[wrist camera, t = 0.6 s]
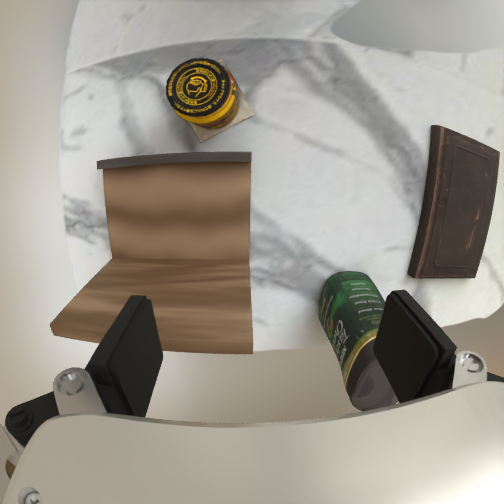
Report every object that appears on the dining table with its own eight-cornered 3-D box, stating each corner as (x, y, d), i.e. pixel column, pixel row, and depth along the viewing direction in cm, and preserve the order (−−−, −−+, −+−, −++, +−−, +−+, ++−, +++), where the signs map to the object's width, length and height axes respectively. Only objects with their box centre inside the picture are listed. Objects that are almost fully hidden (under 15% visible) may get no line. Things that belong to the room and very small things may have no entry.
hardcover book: (491, 150, 32) (500, 152, 29) (467, 272, 40) (474, 278, 38) (428, 124, 31) (438, 124, 29) (405, 272, 39) (412, 278, 37)
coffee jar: (323, 267, 38) (375, 358, 20) (373, 269, 38) (442, 348, 21) (312, 325, 41) (345, 423, 24) (358, 324, 41) (406, 411, 24)
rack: (111, 158, 31) (16, 178, 14) (250, 151, 32) (257, 155, 15) (120, 259, 36) (53, 335, 20) (248, 260, 37) (252, 354, 20)
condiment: (200, 143, 31) (177, 141, 20) (169, 87, 29) (133, 62, 17) (254, 114, 30) (260, 97, 19) (222, 59, 27) (211, 18, 16)
